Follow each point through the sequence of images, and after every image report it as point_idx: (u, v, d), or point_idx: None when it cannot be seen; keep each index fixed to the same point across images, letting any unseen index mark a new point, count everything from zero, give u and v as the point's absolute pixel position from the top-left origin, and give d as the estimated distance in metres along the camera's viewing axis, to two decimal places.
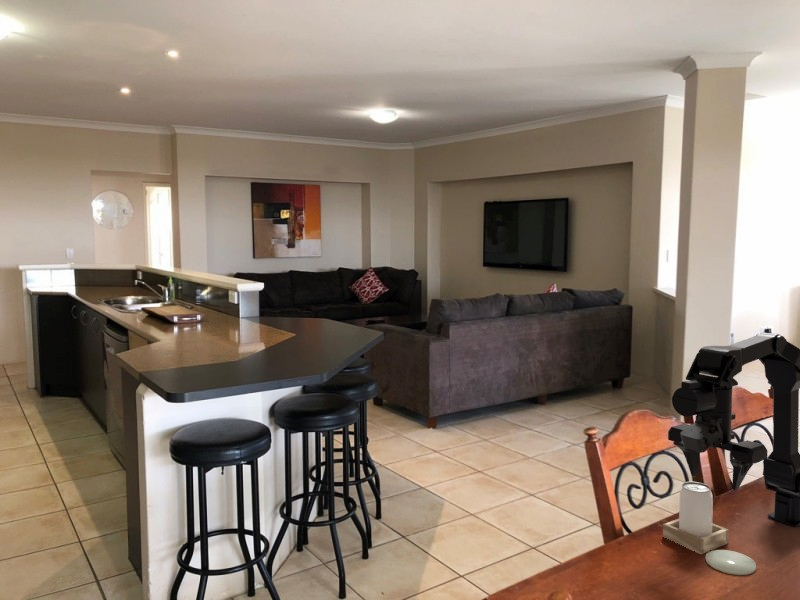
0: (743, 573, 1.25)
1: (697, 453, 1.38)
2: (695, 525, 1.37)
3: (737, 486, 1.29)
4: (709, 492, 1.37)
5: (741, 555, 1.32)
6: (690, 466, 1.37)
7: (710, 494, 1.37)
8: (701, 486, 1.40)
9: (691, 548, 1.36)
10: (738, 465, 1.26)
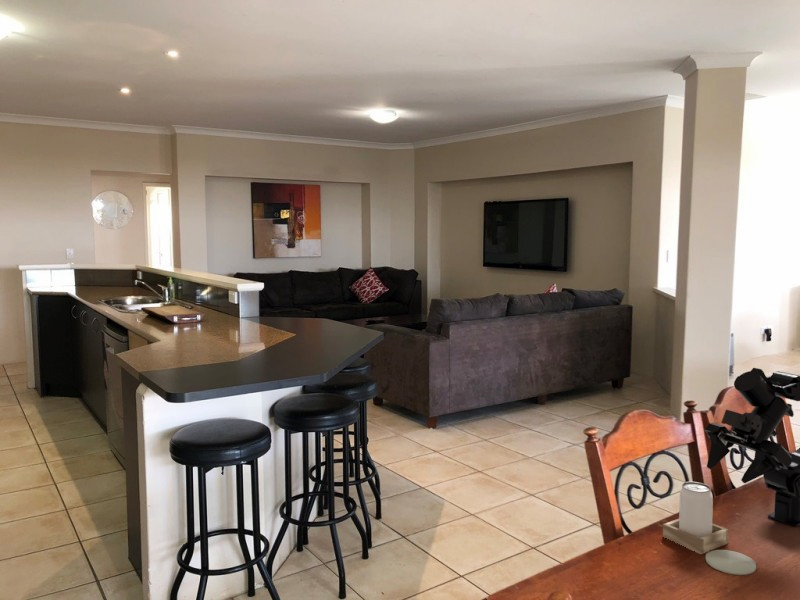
0: (743, 573, 1.25)
1: (722, 454, 1.47)
2: (695, 525, 1.37)
3: (746, 478, 1.37)
4: (709, 492, 1.37)
5: (741, 555, 1.32)
6: (710, 457, 1.46)
7: (710, 494, 1.37)
8: (701, 486, 1.40)
9: (691, 548, 1.36)
10: (760, 455, 1.36)
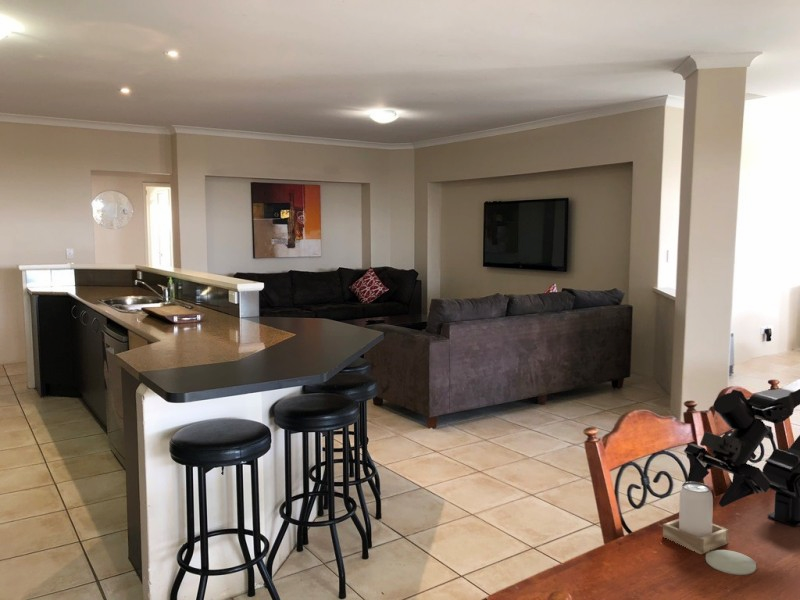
0: (743, 573, 1.25)
1: (700, 476, 1.45)
2: (695, 525, 1.37)
3: (724, 502, 1.35)
4: (709, 492, 1.37)
5: (741, 555, 1.32)
6: (689, 479, 1.44)
7: (710, 494, 1.37)
8: (701, 486, 1.40)
9: (691, 548, 1.36)
10: (738, 479, 1.34)
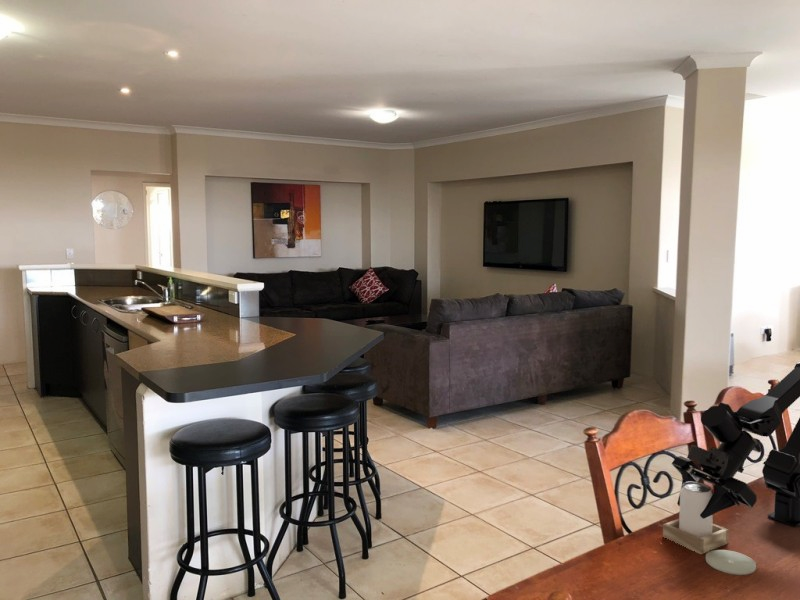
0: (743, 573, 1.25)
1: None
2: (695, 525, 1.37)
3: (705, 514, 1.36)
4: (709, 492, 1.37)
5: (741, 555, 1.32)
6: None
7: (710, 494, 1.37)
8: (701, 486, 1.40)
9: (691, 548, 1.36)
10: (719, 491, 1.35)
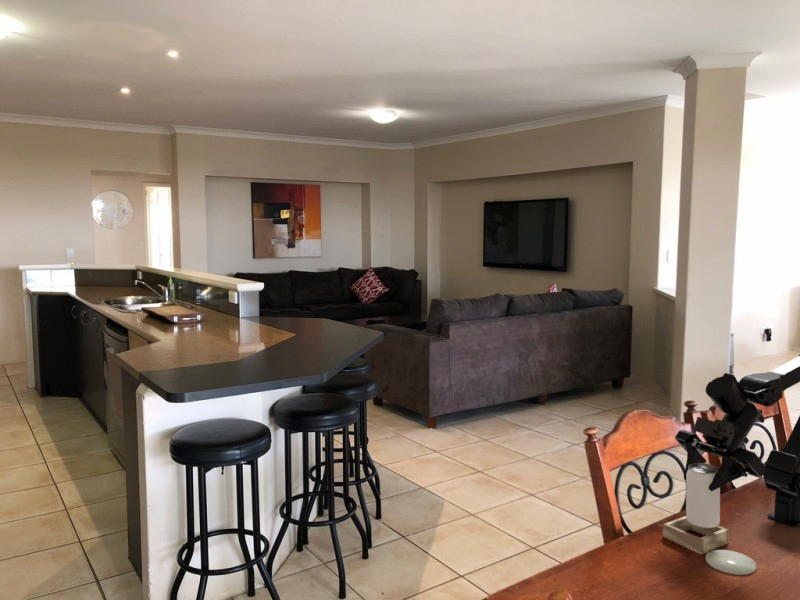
0: (743, 573, 1.25)
1: None
2: (706, 507, 1.34)
3: (713, 486, 1.33)
4: None
5: (741, 555, 1.32)
6: (687, 468, 1.39)
7: None
8: (705, 466, 1.38)
9: (691, 548, 1.36)
10: (727, 462, 1.32)
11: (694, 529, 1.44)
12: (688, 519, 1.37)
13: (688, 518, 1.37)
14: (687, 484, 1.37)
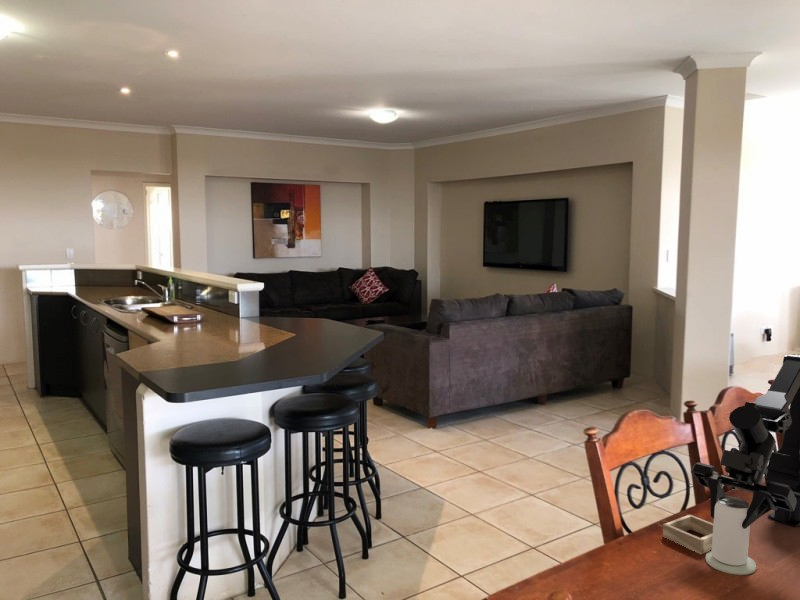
0: (743, 573, 1.25)
1: None
2: (739, 544, 1.26)
3: (747, 523, 1.26)
4: (748, 506, 1.28)
5: None
6: (713, 505, 1.31)
7: None
8: (733, 499, 1.30)
9: (691, 548, 1.36)
10: (760, 497, 1.25)
11: (694, 529, 1.44)
12: (717, 557, 1.29)
13: (717, 556, 1.29)
14: (718, 520, 1.29)
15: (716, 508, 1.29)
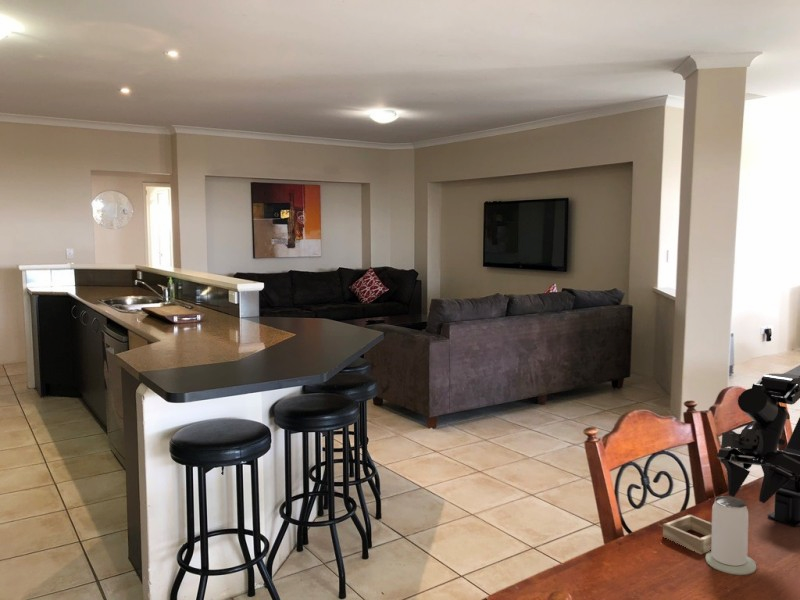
0: (743, 573, 1.25)
1: (741, 478, 1.42)
2: (738, 544, 1.27)
3: (763, 497, 1.32)
4: (745, 505, 1.28)
5: None
6: (729, 484, 1.42)
7: None
8: (730, 499, 1.31)
9: (691, 548, 1.36)
10: (767, 470, 1.31)
11: (694, 529, 1.44)
12: (717, 558, 1.29)
13: (717, 557, 1.29)
14: (716, 520, 1.29)
15: (713, 508, 1.29)
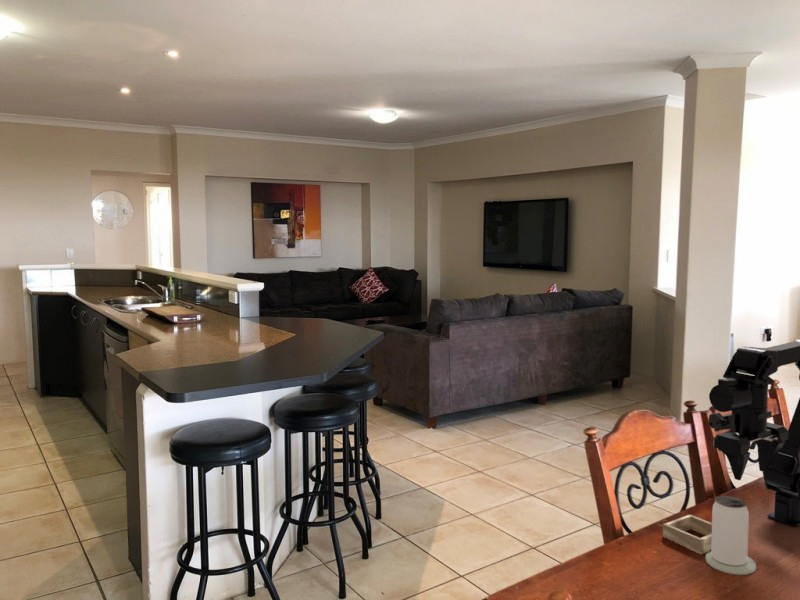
0: (743, 573, 1.25)
1: (769, 452, 1.43)
2: (738, 544, 1.27)
3: (735, 475, 1.39)
4: (745, 505, 1.28)
5: None
6: None
7: (746, 507, 1.28)
8: (730, 499, 1.31)
9: (691, 548, 1.36)
10: None
11: (694, 529, 1.44)
12: (717, 558, 1.29)
13: (717, 557, 1.29)
14: (716, 520, 1.29)
15: (714, 508, 1.30)
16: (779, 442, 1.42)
